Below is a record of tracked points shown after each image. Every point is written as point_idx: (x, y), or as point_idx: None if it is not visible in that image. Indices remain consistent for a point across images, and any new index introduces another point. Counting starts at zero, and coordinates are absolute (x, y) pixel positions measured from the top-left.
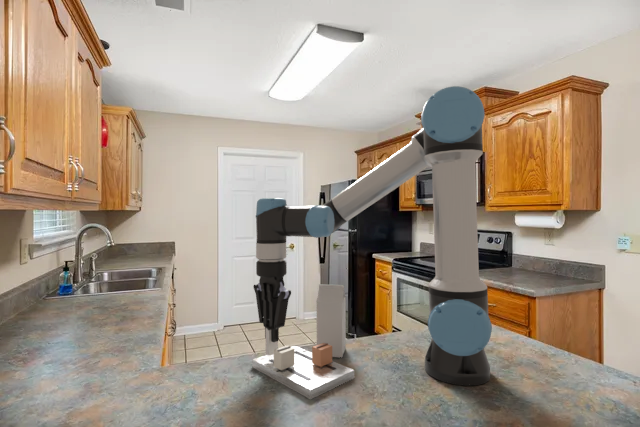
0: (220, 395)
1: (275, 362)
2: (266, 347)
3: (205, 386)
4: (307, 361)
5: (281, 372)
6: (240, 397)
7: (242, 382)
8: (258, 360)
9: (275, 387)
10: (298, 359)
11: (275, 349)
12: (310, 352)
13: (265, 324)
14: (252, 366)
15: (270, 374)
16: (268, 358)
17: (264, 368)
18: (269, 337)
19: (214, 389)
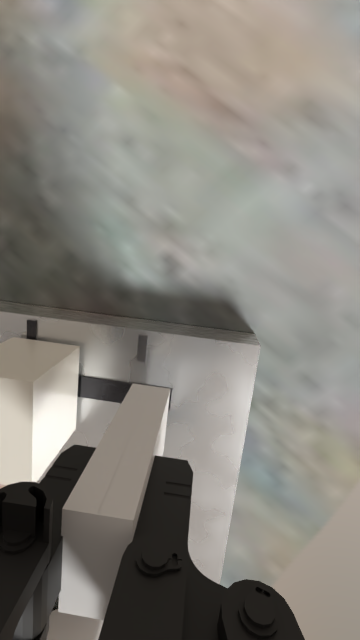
0: (125, 10)
1: (50, 351)
2: (153, 408)
3: (276, 6)
4: None
5: (7, 328)
6: (37, 76)
7: (156, 185)
8: (219, 357)
9: (3, 258)
10: None
11: (29, 394)
12: None
13: (137, 566)
14: (255, 335)
15: (91, 315)
16: (197, 409)
17: (139, 325)
18: (94, 455)
19: (205, 25)
